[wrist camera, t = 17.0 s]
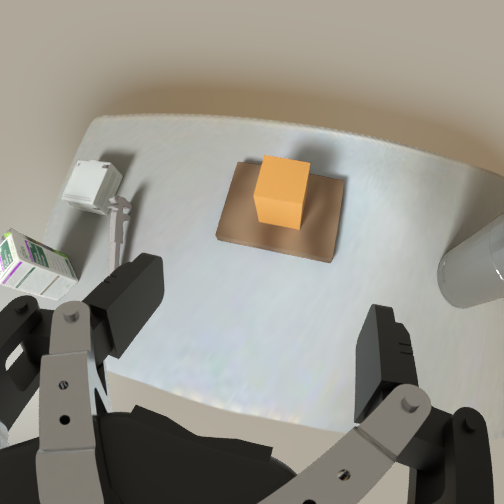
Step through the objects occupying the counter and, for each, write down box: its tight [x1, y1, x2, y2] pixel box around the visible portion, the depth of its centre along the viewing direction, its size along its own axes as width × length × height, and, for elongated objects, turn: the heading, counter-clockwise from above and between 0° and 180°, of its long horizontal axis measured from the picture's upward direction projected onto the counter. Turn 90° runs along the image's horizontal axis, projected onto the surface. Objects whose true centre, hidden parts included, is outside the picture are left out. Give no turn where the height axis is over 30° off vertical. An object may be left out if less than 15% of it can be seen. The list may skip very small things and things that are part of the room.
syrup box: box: [0, 228, 78, 301], centre depth 39 cm, size 6×6×14 cm
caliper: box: [108, 196, 132, 276], centre depth 43 cm, size 20×1×6 cm, turn 178°
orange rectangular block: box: [253, 155, 310, 230], centre depth 40 cm, size 6×6×8 cm
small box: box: [62, 160, 123, 216], centre depth 48 cm, size 8×8×5 cm
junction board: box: [215, 162, 344, 263], centre depth 45 cm, size 16×12×2 cm
